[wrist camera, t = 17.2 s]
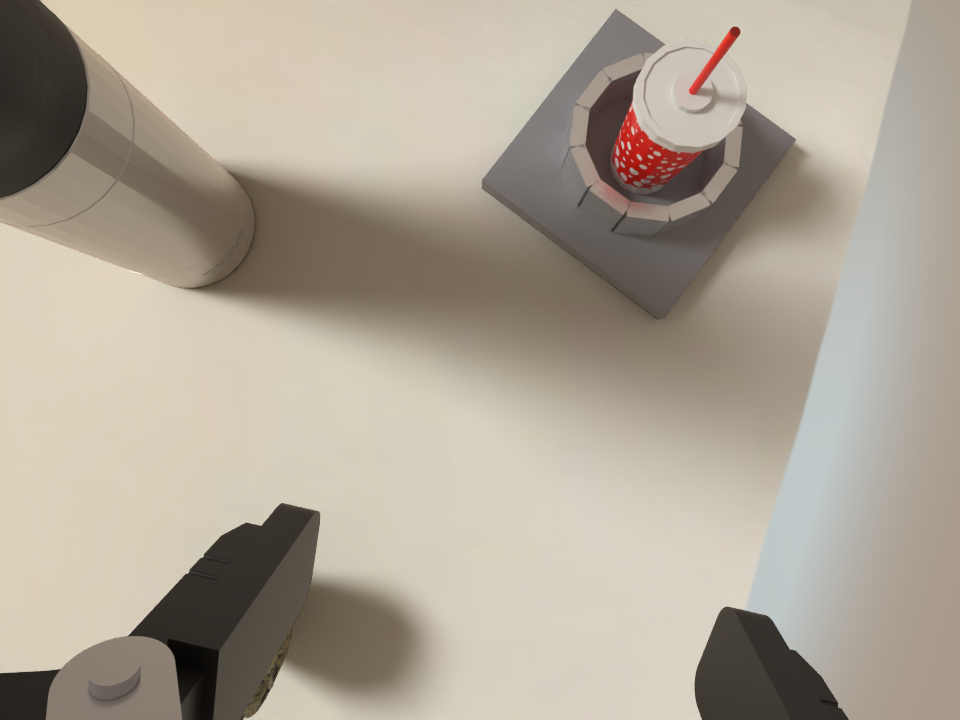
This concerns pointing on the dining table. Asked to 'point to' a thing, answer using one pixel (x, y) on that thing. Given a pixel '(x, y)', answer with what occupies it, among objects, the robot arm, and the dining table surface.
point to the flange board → (620, 257)
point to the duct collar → (607, 201)
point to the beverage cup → (677, 112)
